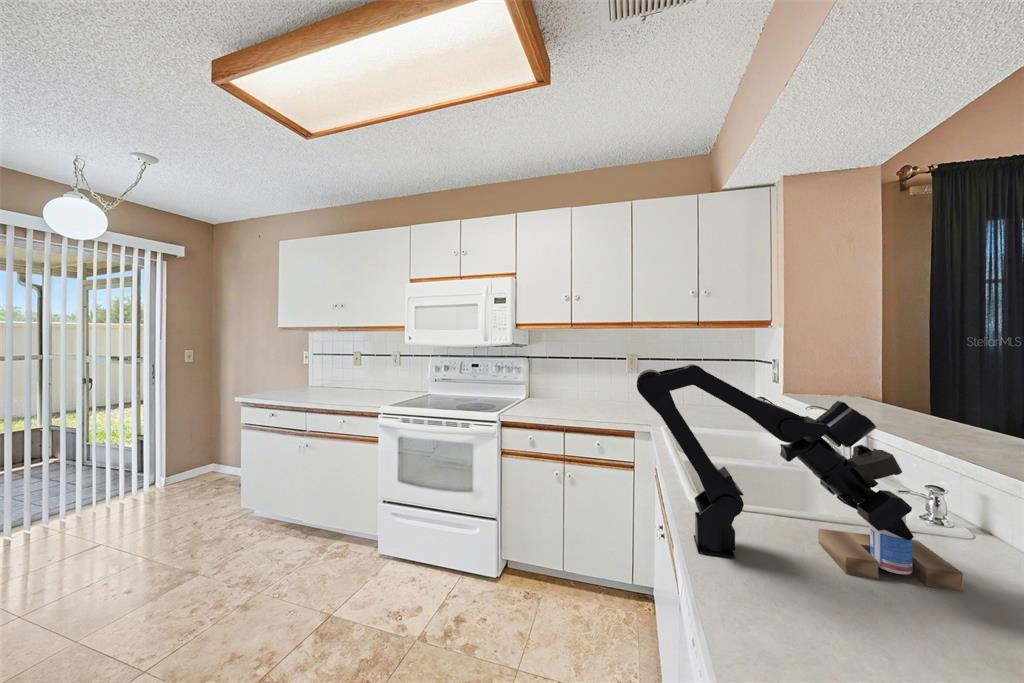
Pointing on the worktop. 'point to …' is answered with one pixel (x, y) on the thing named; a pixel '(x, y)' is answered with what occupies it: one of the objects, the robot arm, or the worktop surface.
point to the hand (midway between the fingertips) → (900, 530)
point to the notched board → (858, 560)
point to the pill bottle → (891, 551)
